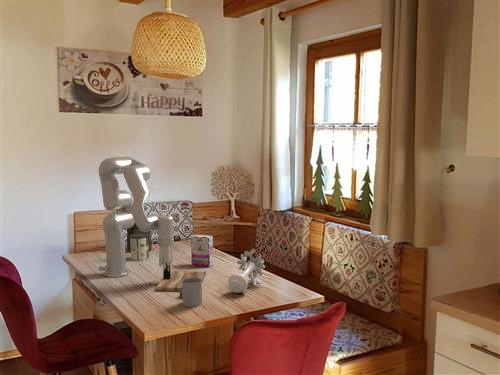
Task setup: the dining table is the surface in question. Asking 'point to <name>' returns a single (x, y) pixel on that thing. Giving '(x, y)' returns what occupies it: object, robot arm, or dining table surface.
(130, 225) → the robot arm
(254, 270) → the flower vase
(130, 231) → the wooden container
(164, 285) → the plank
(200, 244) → the candy bar box
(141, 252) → the coffee can
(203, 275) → the laid board
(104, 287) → the dining table surface
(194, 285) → the cup
